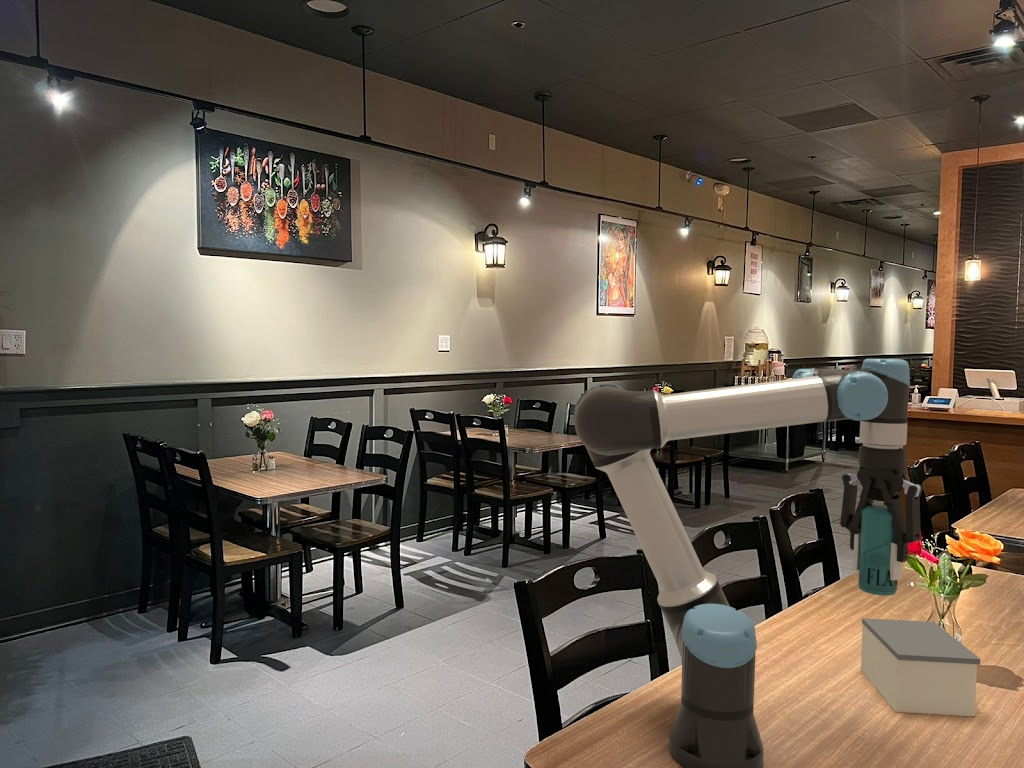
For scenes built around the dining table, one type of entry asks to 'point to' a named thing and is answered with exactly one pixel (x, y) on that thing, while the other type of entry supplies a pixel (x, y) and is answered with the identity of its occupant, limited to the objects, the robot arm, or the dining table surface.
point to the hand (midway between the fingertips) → (877, 573)
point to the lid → (919, 641)
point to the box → (918, 681)
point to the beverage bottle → (876, 548)
